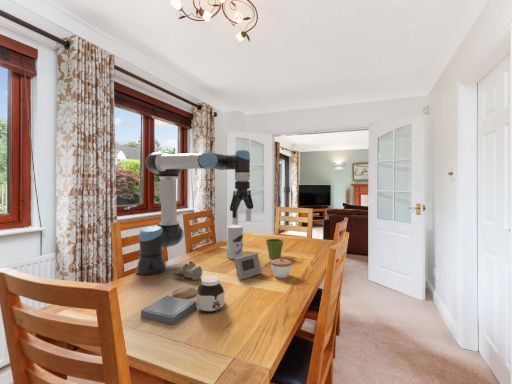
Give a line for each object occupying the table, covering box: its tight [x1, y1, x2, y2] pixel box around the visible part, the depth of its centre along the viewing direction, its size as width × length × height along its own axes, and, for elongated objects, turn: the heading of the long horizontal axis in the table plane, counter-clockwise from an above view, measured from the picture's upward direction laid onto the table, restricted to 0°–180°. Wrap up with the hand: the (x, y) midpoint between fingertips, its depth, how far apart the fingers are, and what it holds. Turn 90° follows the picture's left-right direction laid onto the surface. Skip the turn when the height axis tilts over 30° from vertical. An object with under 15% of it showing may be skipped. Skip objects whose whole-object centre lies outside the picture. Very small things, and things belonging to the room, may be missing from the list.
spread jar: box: [196, 275, 226, 314], centre depth 107 cm, size 12×11×12 cm
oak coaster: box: [172, 286, 198, 300], centre depth 119 cm, size 10×10×1 cm
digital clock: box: [233, 252, 263, 281], centre depth 143 cm, size 16×9×11 cm, turn 123°
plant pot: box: [265, 238, 285, 260], centre depth 177 cm, size 12×12×11 cm
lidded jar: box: [270, 257, 293, 279], centre depth 142 cm, size 11×11×9 cm
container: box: [226, 225, 244, 260], centre depth 177 cm, size 10×10×20 cm
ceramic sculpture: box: [172, 261, 203, 281], centre depth 139 cm, size 11×9×15 cm
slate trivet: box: [140, 295, 198, 326], centre depth 102 cm, size 14×14×3 cm
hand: (242, 222), depth 140 cm, fingers open, 13 cm apart
